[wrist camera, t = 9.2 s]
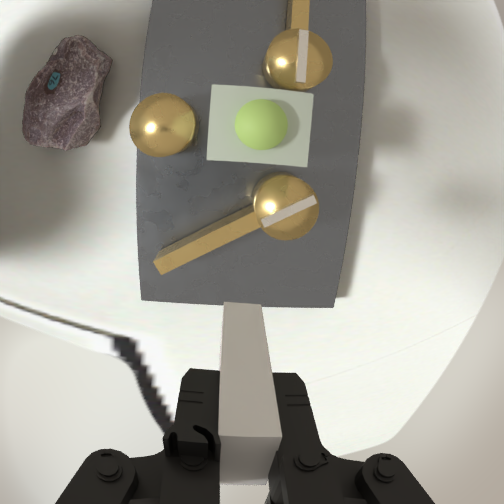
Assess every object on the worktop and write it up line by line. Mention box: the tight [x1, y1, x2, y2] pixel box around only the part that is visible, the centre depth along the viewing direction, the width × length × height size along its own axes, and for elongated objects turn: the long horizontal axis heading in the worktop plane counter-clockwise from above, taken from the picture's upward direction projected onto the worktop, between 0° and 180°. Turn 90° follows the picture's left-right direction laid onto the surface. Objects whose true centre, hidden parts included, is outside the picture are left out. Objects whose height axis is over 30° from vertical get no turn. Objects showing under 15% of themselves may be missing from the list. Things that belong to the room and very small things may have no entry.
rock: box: [22, 35, 112, 151], centre depth 23 cm, size 8×11×5 cm
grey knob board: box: [129, 0, 366, 308], centre depth 25 cm, size 20×34×6 cm, turn 176°
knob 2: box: [262, 0, 333, 92], centre depth 20 cm, size 14×5×5 cm, turn 176°
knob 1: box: [153, 172, 319, 275], centre depth 26 cm, size 14×5×5 cm, turn 116°
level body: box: [207, 85, 313, 167], centre depth 21 cm, size 6×5×10 cm
